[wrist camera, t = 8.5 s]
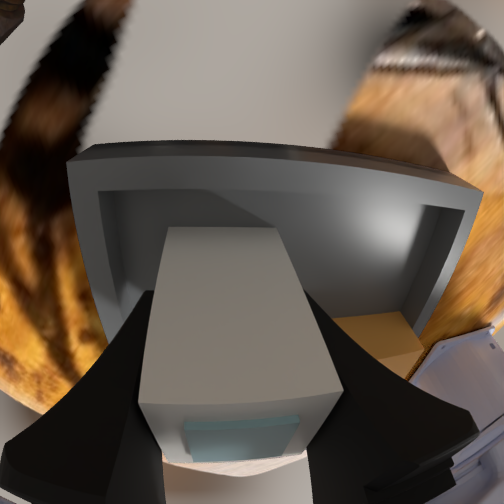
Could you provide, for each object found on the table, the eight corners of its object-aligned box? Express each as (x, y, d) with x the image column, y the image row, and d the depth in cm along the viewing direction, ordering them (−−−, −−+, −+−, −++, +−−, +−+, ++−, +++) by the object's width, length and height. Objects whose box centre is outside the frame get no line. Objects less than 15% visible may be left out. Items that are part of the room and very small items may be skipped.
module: (276, 227, 11) (346, 398, 5) (264, 307, 13) (302, 459, 7) (168, 227, 11) (136, 411, 4) (175, 308, 13) (168, 468, 7)
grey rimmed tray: (450, 172, 12) (506, 207, 8) (354, 390, 21) (370, 430, 18) (94, 144, 9) (43, 178, 6) (151, 405, 19) (148, 452, 15)
